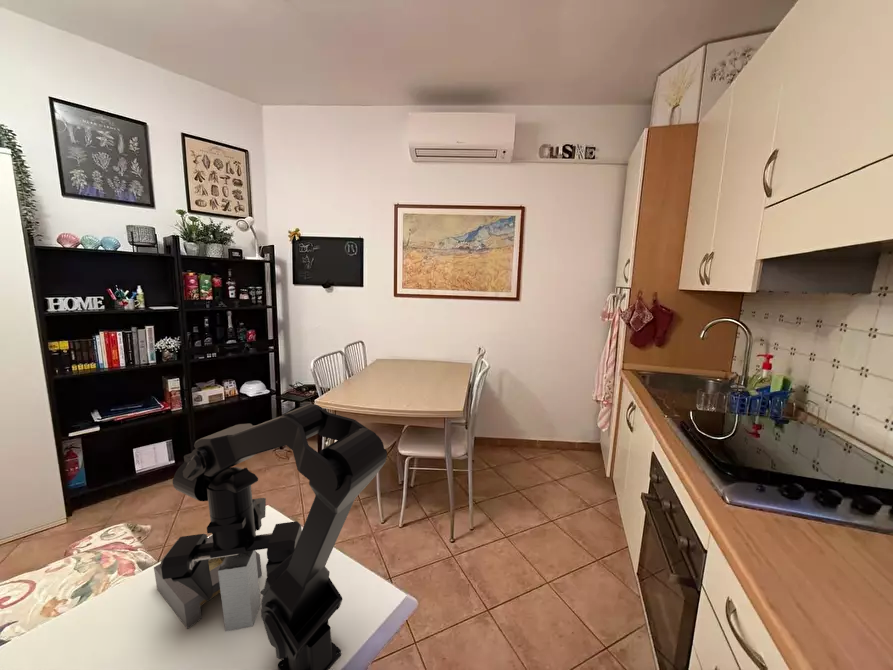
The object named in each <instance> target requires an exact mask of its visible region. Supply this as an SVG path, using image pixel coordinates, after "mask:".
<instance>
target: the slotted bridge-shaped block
mask: <svg viewBox="0 0 893 670" xmlns="http://www.w3.org/2000/svg"><path fill="white" fill-rule="evenodd" d="M208 537H209V538H208ZM208 537H207V542H206V543H213V537H212V534H211V535H209V536H208ZM206 543H205V544H206ZM224 559H225V557H219V558H212V559H209V561H208V563H209V569H210V575H211V581H212V588H213V595H212V598H211V599H214V598H215V597H216V596H218V594H221V591H220V583H219V575H218V570H219V568H220V566H221V564H222V562H223V561H224ZM256 561H257V571H258V579H259V578H261V577H263V575H262V574H263V573H262V564H261V554H259V552H258V551H256ZM159 567H160V563H158V564H157V565H156V566H153V571H154V577H155V583H156V590H157V591H158V592H159V594H160V595H161V596H162V598H163V599H164V600H165V601H166V603H167V604H168V605H169V607H170V608H171V610H172V611H173V612H174V613H175V615H176V616H177V617H178V619H179V620H180V622H182V624H183V625H184V627H186V629H189V628H191V627H192V626H193V625H195V624H196V623H197V622H199V621H200V620H202V612H201V606H203V605H204V604H205V603H207V602H208V601H206V600H205V599H204V598H202V597H201V596H200V595H198V594H197V593H196V592H195V591H193V590H192V589H190V588H189V587H187V586H185V585H183V584H182V583H180V582H178V581H176V582H173V581H172V580H171V578H168V579H162V578H161V575H160V568H159Z"/></svg>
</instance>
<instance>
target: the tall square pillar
mask: <svg viewBox="0 0 893 670" xmlns="http://www.w3.org/2000/svg"><path fill="white" fill-rule="evenodd" d="M256 552H257V550H254V551H247V552H246V553H242V554H238V555H233V556H226V557H225V559H224V561H223V562H222V564H221V566H220V568H219V570H218V575H219V583H220V591H221V592H220V597H221V607H222V614H223V622H224V631H225V632H229V631H235V630H240V629H246V628H251V627H254V624H255V621H256V618H257V616H258V612H259V610H260V606H262V605H261V603H262V600H261V593H260V592H261V591H260V583H259V582H260V581H259V578H258V571H257V561H256Z"/></svg>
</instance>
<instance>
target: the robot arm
mask: <svg viewBox="0 0 893 670" xmlns="http://www.w3.org/2000/svg"><path fill="white" fill-rule="evenodd" d="M316 435H319V436H321V437H322V438H327V439H331V440H334V442H333V443H330V444H329V445H328V446H325V447H324V448H322V449H320V450H319V451H317V450H315V449H314V448H313V447H312V446H310V445H309V443H308V439H309V438H311V437H313V436H316ZM285 446H287V447H288V448H289V449H290V450H292V453H293V457H294V461H295V464H296V469H297V471H298V473H300V474H301V475H302V476H303V477H305V478H306V479H307V480H308V482H309V483H308V484H309V487H310V488H311V490H312V493H314V495H315V497H314V499H313V501H312V504H311V507H310V509H309V511H308V514H307V517H306V519H305V522H304V524H303V527H302V524H300V522H298V521H297V520H295V521H287V522H282V523H281V522H280V523H276V524H275V526H274V528H273V530H272V532H270V533H264V534H257V531H260V529H261V527H262V524H263V523H262V519H265V517H266V502H267V499H266V497H259V498H253V493H252V485H254V484H255V483H257V482H259V477H258V476H257V475H256V474H255V473H254V472H251V471H250V470H249V469H248V468H247V467H244V468H242V467H239V466H237V465H239V464H241V463H242V462H245V461H246V460H249V459H251V458H253V457H255V456H256V455H258V454H261V453H264V452H267V451H271V450H274V449H278V448H281V447H285ZM193 447H194V449H192V451H191V453H188V454H185V455H184V456H183V460H184V462H183V463H182V464H181V465H180V466H179V467H178V468H177V469H176V471H175V474H174V475H173V478H172V486H173V488H174V489H175V490H176V491H178V492H180V493H181V494H184V495H186V496H187V497H190V498H192V499H194V500H197V501H198V502H208V511H209V519H210V522H209V523H208V524H207V526H206V533H207V534H211V535H212V537H213V543H206V542H207V538H208V535H207V534H206V533H198V534H191V535H183V536H182V535H181V536H179V538H178V539H177V540H175V542H174V544H173V545H172V546H171V547H170V549H169V550H168V551H167V552H166V553H165V555H164V556H163V558H162V559H161V561H160V563H159V564H160V567H159V568H160V575H161V578H162V579H168V578H171V580H172V581H173V582H176V581H178V582H180V583H182V584H183V585H185V586H187V587H189V588H190V589H192V590H193V591H195V592H196V593H197V594H198V595H200V596H201V597H202V598H204V599H205V600H206V601H207V602H209V601H211V600H212V599H213V598H212V595H213V588H212V581H211V575H210V569H209V563H208V561H209V560H211V559H213V558H219V557H226V556H233V555H238V554H242V553H246V552H247V551H254V550H255V551H260V550H266V558H267V563H266V565H265V566H266V567H265V569H266V571H265V572H266V578H265V582H264V584H265V585H264V587H263V588H262V590H261V591H260V595H262V599H261V605H260V606H261V612H260V617H261V619H262V623H263V626H264V628H265V629H264V630H265V632H266V635H267V639H268V641H269V644H270V645H271V646H272V647H274V648H275V655H276V658H277V659H279V660H280V661H278V663H277V669H278V670H330V669H331V667H332V666H333V664H335V663H336V662H337V661H338V659H339V658H340V657H341V656H342V650H341V649H340V647H338V646H337V645H336V644H335V643H334V642H333V641H332V634H331V633H332V632H331V626H330V625H329V624H330V623H329V619H330V618H331V617H332V616H333V615H334V613H335V612H336V611H337V610H339V609H340V608H341V605H342V602H343V597H342V595H341V593H340V592H339V590H338V589H337V587H336V586H335V584H334V582H333V581H332V579H331V578H330V570H328V568H327V567H326V565H327V563H328V561H329V558H330V556H331V554H332V551H333V549H334V547H335V545H336V543H337V540H338V538H339V536H340V534H341V531H342V529H343V526H344V525H345V523H346V520H347V518H348V516H349V514H350V511H351V509H352V506H353V505H354V502H355V500H356V498H357V497H358V496H359V495H360V494H361V493H362V492H363V490H364V489H365V488H367V486H368V485H369V484H370V483H371V482H372V480H373V479H374V478H375V477H376V476H377V474H379V472H380V470H381V469H382V468H383V467H384V465H385V463H386V462H387V457H388V451H387V449H386V448H385V446H384V443H383V439H381V437H379V435H377V433H376V432H374V431H373V430H371V429H369V428H368V427H366V426H365V425H363V424H362V423H361V422H359V421H357V420H356V419H354V418H351V417H347V416H342V415H339V414H336V413H331V412H328V411H327V410H325V409H324V408H323V407H321V406H320V405H318V404H316V403H315V404H311V403H310V404H309V403H308V404H305V405H303V406H300V407H297V408H295V409H294V410H291V411H287V412H285V413H284V414H282V415H280V416H277V417H275V418H273V419H270V420H266V421H264V422H262V423H258V424H256V425H253V424H252V423H238V424H235V425H233V426H229V427H227V428H225V429H222V430H219V431H217V432H214V433H212V434H209V435H207V436H204V437H201V438H199V439H197V440H196V441H195V442H194V445H193ZM205 543H206V544H205Z"/></svg>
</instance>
